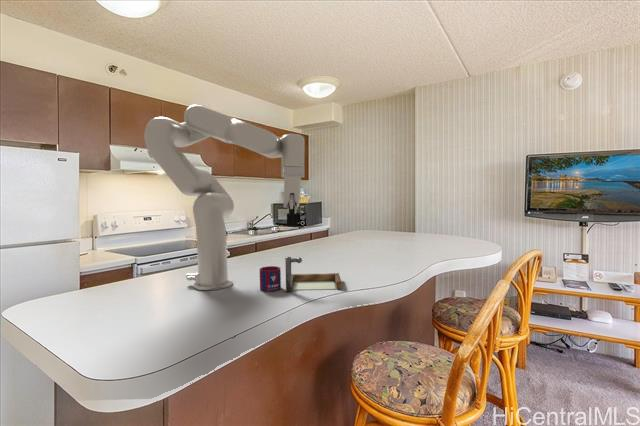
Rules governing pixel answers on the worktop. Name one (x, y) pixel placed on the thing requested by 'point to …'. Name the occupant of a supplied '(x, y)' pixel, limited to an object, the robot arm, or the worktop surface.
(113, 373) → the worktop surface
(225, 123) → the robot arm
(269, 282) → the mug
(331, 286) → the bay mat
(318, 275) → the frame
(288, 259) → the hook post
